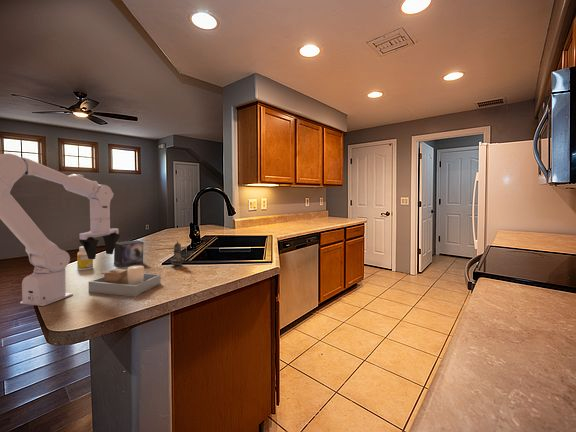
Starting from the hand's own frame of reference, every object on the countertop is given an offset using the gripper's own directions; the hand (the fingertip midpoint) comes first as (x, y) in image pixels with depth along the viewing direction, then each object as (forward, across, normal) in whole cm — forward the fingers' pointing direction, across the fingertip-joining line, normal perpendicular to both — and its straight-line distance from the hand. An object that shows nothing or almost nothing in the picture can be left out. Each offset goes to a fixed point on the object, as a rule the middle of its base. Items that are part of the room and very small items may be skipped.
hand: (101, 256), depth 95 cm
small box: (+11, +28, +11) cm, 32 cm away
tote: (+10, 0, -10) cm, 15 cm away
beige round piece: (+10, -1, -14) cm, 17 cm away
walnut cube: (+10, 0, -6) cm, 12 cm away
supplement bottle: (+11, +16, +22) cm, 29 cm away
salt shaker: (+11, +30, -12) cm, 34 cm away
